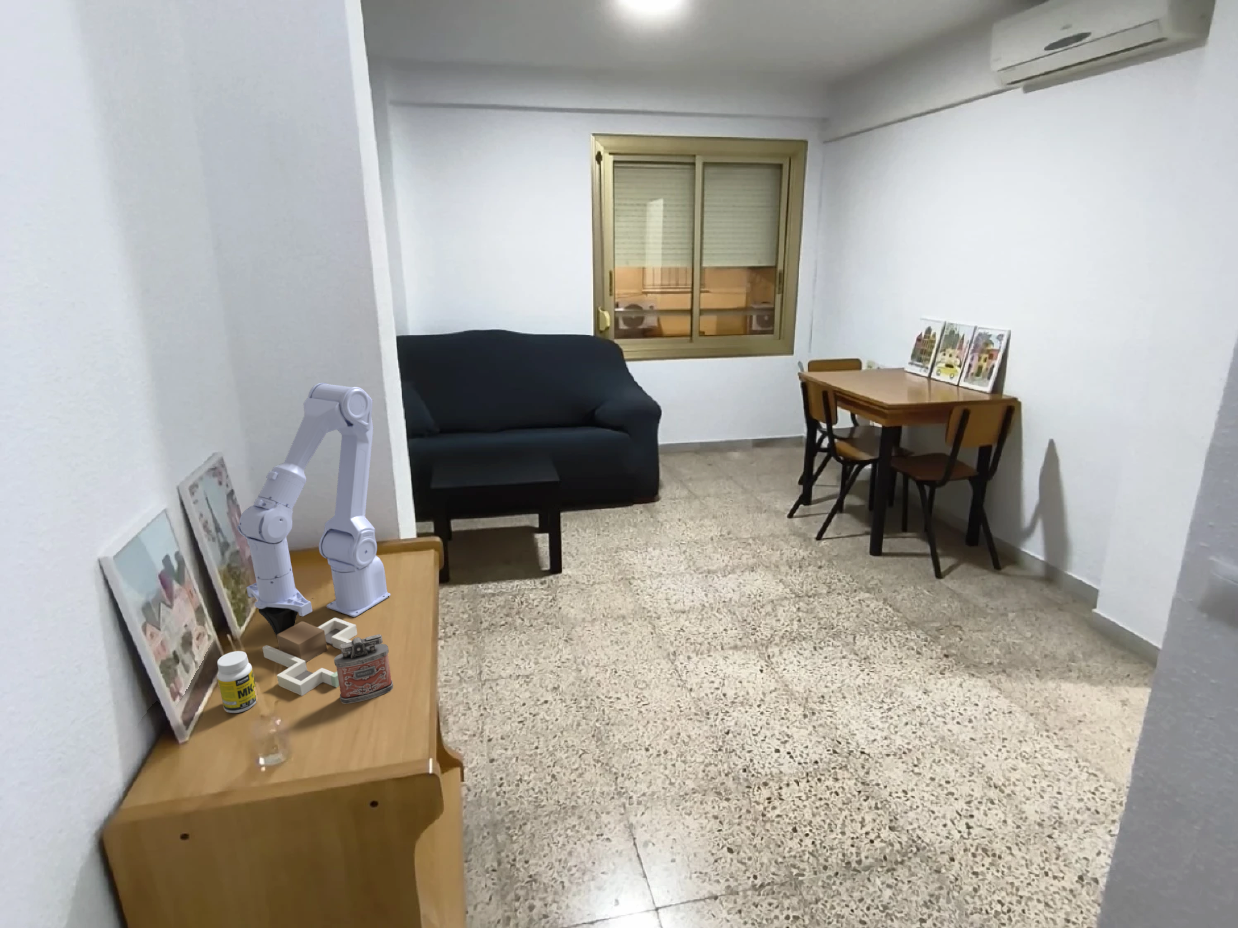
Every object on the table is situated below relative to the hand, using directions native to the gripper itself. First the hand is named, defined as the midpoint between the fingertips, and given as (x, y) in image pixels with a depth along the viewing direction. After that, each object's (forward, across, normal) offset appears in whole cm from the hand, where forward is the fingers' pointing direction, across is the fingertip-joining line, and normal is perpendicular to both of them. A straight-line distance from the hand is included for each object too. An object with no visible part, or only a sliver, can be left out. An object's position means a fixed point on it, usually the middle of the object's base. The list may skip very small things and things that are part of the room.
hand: (286, 639), depth 120 cm
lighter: (+1, +23, -3) cm, 23 cm away
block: (+1, +4, 0) cm, 5 cm away
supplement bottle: (+1, +8, -14) cm, 16 cm away
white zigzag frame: (+1, +9, 0) cm, 9 cm away
